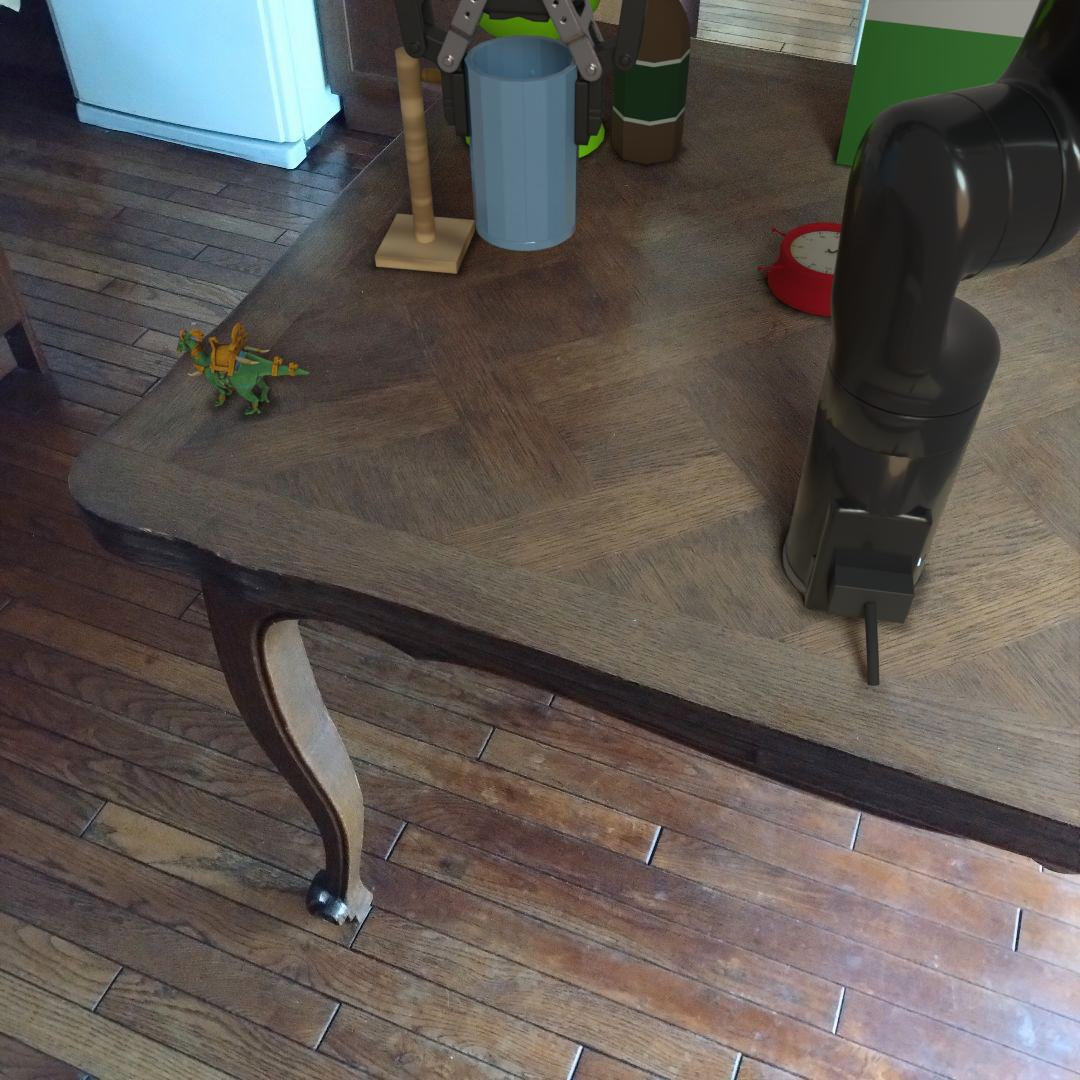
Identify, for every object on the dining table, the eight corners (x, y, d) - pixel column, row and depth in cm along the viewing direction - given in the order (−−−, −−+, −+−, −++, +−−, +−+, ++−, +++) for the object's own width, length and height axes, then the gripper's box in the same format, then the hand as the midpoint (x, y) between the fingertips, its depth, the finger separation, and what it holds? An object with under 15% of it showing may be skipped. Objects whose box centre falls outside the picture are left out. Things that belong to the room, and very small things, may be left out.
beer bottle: (611, 132, 121) (620, -106, 103) (679, 133, 120) (700, -106, 103) (611, 165, 115) (621, -80, 98) (683, 165, 115) (705, -80, 98)
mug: (568, 255, 62) (570, 85, 55) (465, 247, 63) (453, 78, 56) (592, 171, 69) (596, 10, 62) (499, 165, 70) (492, 5, 63)
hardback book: (1009, 156, 116) (1089, -90, 98) (1006, 188, 111) (1089, -65, 93) (846, 133, 120) (895, -107, 102) (836, 163, 115) (885, -83, 98)
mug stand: (549, 282, 100) (548, 79, 86) (376, 266, 102) (347, 66, 88) (563, 238, 105) (563, 40, 91) (398, 224, 107) (374, 29, 94)
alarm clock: (771, 213, 101) (939, 203, 95) (776, 271, 105) (937, 265, 99) (751, 270, 94) (930, 264, 88) (757, 331, 98) (929, 328, 92)
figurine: (200, 381, 90) (175, 299, 84) (327, 408, 87) (311, 325, 81) (180, 403, 88) (153, 320, 82) (310, 431, 85) (292, 348, 79)
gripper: (341, -202, 47) (385, 157, 59) (666, -193, 45) (643, 176, 57) (387, -239, 52) (419, 99, 64) (680, -232, 50) (656, 114, 62)
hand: (524, 134), depth 61 cm, fingers closed on mug, 6 cm apart
